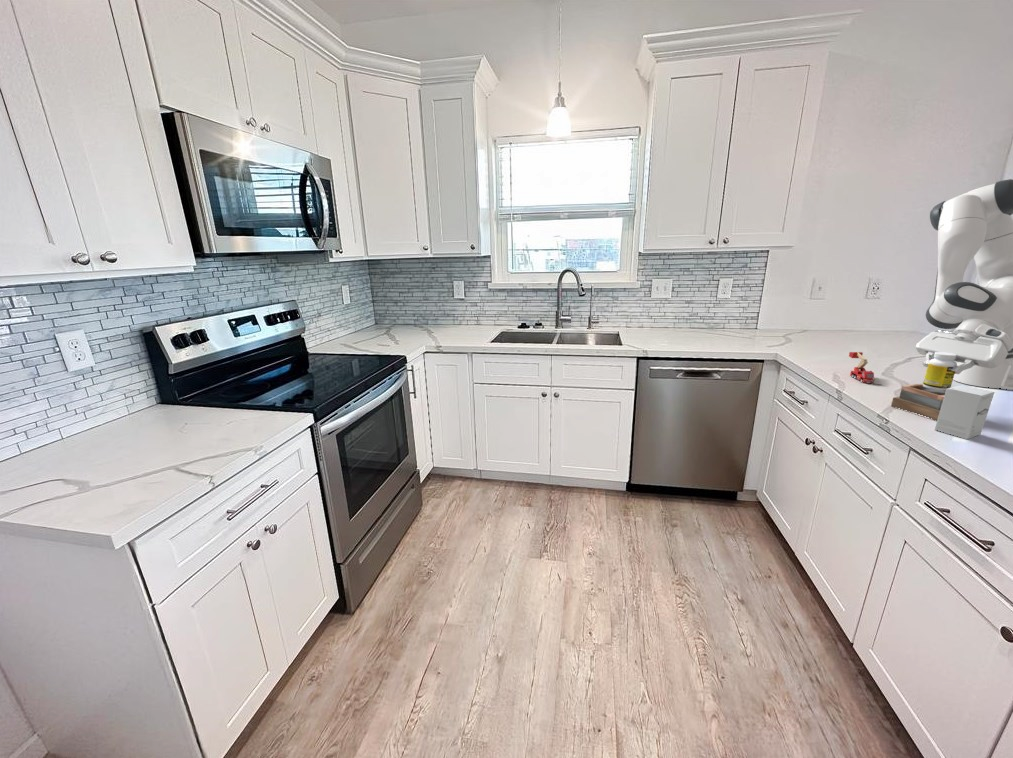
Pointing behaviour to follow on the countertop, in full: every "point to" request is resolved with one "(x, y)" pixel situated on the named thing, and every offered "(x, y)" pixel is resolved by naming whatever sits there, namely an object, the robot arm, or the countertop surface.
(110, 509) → the countertop surface
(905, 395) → the wooden tray
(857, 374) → the toy fire truck
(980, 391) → the supplement box
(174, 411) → the countertop surface
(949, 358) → the pill bottle
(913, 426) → the countertop surface
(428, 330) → the countertop surface
